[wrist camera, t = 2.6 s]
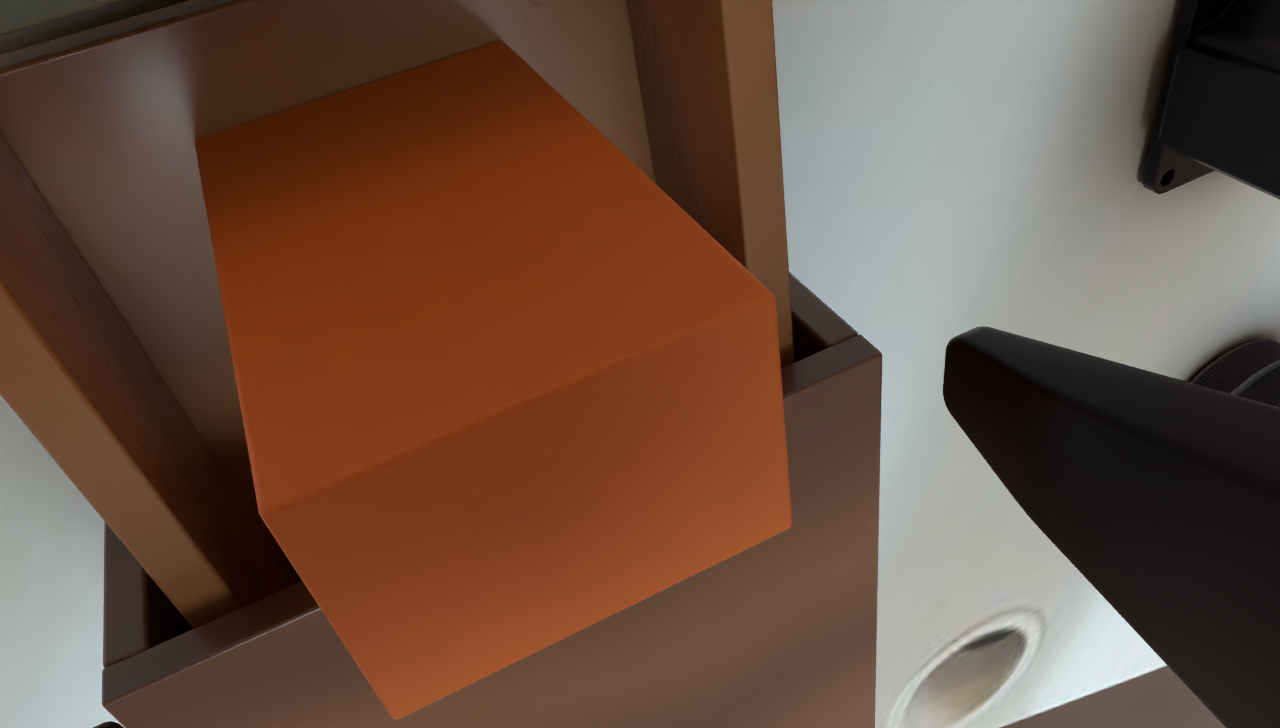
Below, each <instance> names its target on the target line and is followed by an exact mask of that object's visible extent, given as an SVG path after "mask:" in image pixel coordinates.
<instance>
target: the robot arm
mask: <svg viewBox="0 0 1280 728" xmlns="http://www.w3.org/2000/svg"><path fill="white" fill-rule="evenodd" d="M1215 170H1216V171H1218V172H1220V173H1222V174H1224V175H1227V176H1229V177H1231V178H1233V179H1236V180H1238V181H1240V182H1242V183H1245V184H1247V185H1249V186H1251V187H1253V188H1256V189H1258V190H1260V191H1262V192H1265V193H1267V194H1269V195H1271V196H1273V197H1276V198H1278V199H1280V0H1183V1H1182V5H1181V10H1180V14H1179V19H1178V23H1177V28H1176V32H1175V37H1174V41H1173V45H1172V50H1171V54H1170V59H1169V63H1168V68H1167V72H1166V77H1165V81H1164V86H1163V90H1162V95H1161V99H1160V104H1159V108H1158V113H1157V117H1156V121H1155V126H1154V130H1153V135H1152V139H1151V144H1150V148H1149V153H1148V157H1147V162H1146V166H1145V171H1144V175H1143V185H1144V187H1146V188H1148V189H1150V190H1152V191H1154V192H1156V193H1158V194H1161V193H1165V192H1167V191H1169V190H1171V189H1174V188H1176V187H1178V186H1180V185H1183V184H1185V183H1187V182H1190V181H1192V180H1194V179H1196V178H1199V177H1201V176H1203V175H1205V174H1208V173H1210V172H1212V171H1215ZM943 396H944V401H945V404H946V406H947V408H948V410H949V412H950V413H951V415H952V416H953V418H954V419H955V420H956V422H957V423H958V424H959V426H960V427H961V428H962V430H963V431H964V432H965V434H966V435H967V436H968V438H969V439H970V440H971V441H972V443H973V444H974V445H975V447H976V448H977V449H978V451H979V452H980V453H981V455H982V456H983V457H984V459H985V460H986V461H987V463H988V464H989V465H990V467H991V468H992V469H993V471H994V472H995V473H996V475H997V476H998V477H999V479H1000V480H1001V481H1002V483H1003V484H1004V485H1005V487H1006V488H1007V489H1008V491H1009V492H1010V493H1011V495H1012V496H1013V497H1014V499H1015V500H1016V501H1017V502H1018V504H1019V505H1020V506H1021V507H1022V508H1023V510H1024V511H1025V512H1026V513H1027V515H1028V516H1029V517H1030V518H1031V519H1032V520H1033V521H1034V523H1035V524H1036V525H1037V526H1038V527H1039V528H1040V529H1041V530H1042V532H1043V533H1044V534H1045V535H1046V536H1047V537H1048V538H1049V539H1050V540H1051V541H1052V542H1053V543H1054V544H1055V545H1056V546H1057V548H1058V549H1059V550H1060V551H1061V552H1062V553H1063V554H1064V555H1065V556H1066V557H1067V558H1068V559H1069V560H1070V561H1071V563H1072V564H1073V565H1074V566H1075V567H1076V568H1077V569H1078V570H1079V571H1080V572H1081V573H1082V574H1083V575H1084V576H1085V577H1086V579H1087V580H1088V581H1089V582H1090V583H1091V584H1092V585H1093V586H1094V587H1095V588H1096V589H1097V590H1098V591H1099V592H1100V594H1101V595H1102V596H1103V597H1104V598H1105V599H1106V600H1107V601H1108V602H1109V603H1110V604H1111V605H1112V606H1113V607H1114V608H1115V610H1116V611H1117V612H1118V613H1119V614H1120V615H1121V616H1122V617H1123V618H1124V619H1125V620H1126V621H1127V622H1128V623H1129V625H1130V626H1131V627H1132V628H1133V629H1134V630H1135V631H1136V632H1137V633H1138V634H1139V635H1140V636H1141V637H1142V638H1143V639H1144V641H1145V642H1146V643H1147V644H1148V645H1149V646H1150V647H1151V648H1152V649H1153V650H1154V651H1155V652H1156V653H1157V654H1158V656H1159V657H1160V658H1161V659H1162V660H1163V661H1164V662H1165V663H1166V664H1167V665H1168V666H1169V667H1170V668H1171V669H1172V670H1173V672H1174V673H1175V674H1176V675H1177V676H1178V677H1179V678H1180V679H1181V680H1182V681H1183V682H1184V683H1185V684H1186V685H1187V686H1188V687H1189V689H1190V690H1191V691H1192V692H1193V693H1194V694H1195V695H1196V696H1197V697H1198V698H1199V699H1200V700H1201V701H1202V703H1203V704H1204V705H1205V706H1206V707H1207V708H1208V709H1209V710H1210V711H1211V712H1212V713H1213V714H1214V715H1215V716H1216V717H1217V719H1218V720H1220V722H1221V723H1222V724H1223V725H1224V726H1225V727H1226V728H1280V408H1279V407H1276V406H1272V405H1268V404H1265V403H1261V402H1258V401H1254V400H1250V399H1247V398H1243V397H1239V396H1236V395H1232V394H1229V393H1225V392H1221V391H1218V390H1214V389H1211V388H1207V387H1203V386H1200V385H1196V384H1193V383H1189V382H1185V381H1182V380H1178V379H1175V378H1171V377H1167V376H1164V375H1160V374H1156V373H1153V372H1149V371H1146V370H1142V369H1138V368H1135V367H1131V366H1128V365H1124V364H1120V363H1117V362H1113V361H1110V360H1106V359H1102V358H1099V357H1095V356H1091V355H1088V354H1084V353H1081V352H1077V351H1073V350H1070V349H1066V348H1063V347H1059V346H1055V345H1052V344H1048V343H1045V342H1041V341H1037V340H1034V339H1030V338H1027V337H1023V336H1019V335H1016V334H1012V333H1008V332H1005V331H1001V330H998V329H994V328H990V327H976V328H974V329H971V330H969V331H967V332H965V333H963V334H960V335H958V336H956V337H954V338H952V339H951V340H950V341H949V343H948V345H947V348H946V356H945V370H944V383H943ZM93 728H124V727H122V726H121V725H120V724H118V723H115V722H111V721H109V722H105V723H102V724H100V725H98V726H95V727H93Z"/></svg>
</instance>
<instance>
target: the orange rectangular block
mask: <svg viewBox="0 0 1280 728" xmlns="http://www.w3.org/2000/svg"><path fill="white" fill-rule="evenodd" d="M195 149H196V154H197V160H198V166H199V172H200V177H201V183H202V189H203V195H204V200H205V206H206V212H207V218H208V223H209V229H210V235H211V241H212V246H213V252H214V258H215V263H216V269H217V275H218V281H219V286H220V292H221V298H222V304H223V309H224V315H225V321H226V327H227V332H228V338H229V344H230V350H231V355H232V361H233V367H234V373H235V378H236V384H237V390H238V396H239V401H240V407H241V413H242V419H243V424H244V430H245V436H246V442H247V447H248V453H249V459H250V465H251V470H252V476H253V482H254V488H255V493H256V499H257V505H258V511H259V515H260V516H261V518H262V519H263V521H264V523H265V524H266V526H267V527H268V529H269V530H270V532H271V533H272V535H273V536H274V538H275V539H276V541H277V543H278V544H279V546H280V547H281V549H282V550H283V552H284V553H285V555H286V556H287V558H288V559H289V561H290V562H291V564H292V566H293V567H294V569H295V570H296V572H297V573H298V575H299V576H300V578H301V579H302V581H303V582H304V584H305V586H306V587H307V589H308V590H309V592H310V593H311V595H312V596H313V598H314V599H315V601H316V602H317V604H318V606H319V607H320V609H321V610H322V612H323V613H324V615H325V616H326V618H327V619H328V621H329V622H330V624H331V625H332V627H333V629H334V630H335V632H336V633H337V635H338V636H339V638H340V639H341V641H342V642H343V644H344V645H345V647H346V649H347V650H348V652H349V653H350V655H351V656H352V658H353V659H354V661H355V662H356V664H357V665H358V667H359V669H360V670H361V672H362V673H363V675H364V676H365V678H366V679H367V681H368V682H369V684H370V685H371V687H372V689H373V690H374V692H375V693H376V695H377V696H378V698H379V699H380V701H381V702H382V704H383V705H384V707H385V708H386V710H387V712H388V713H389V715H390V716H391V717H392V718H393V719H395V720H396V719H401V718H403V717H405V716H407V715H409V714H411V713H413V712H415V711H417V710H419V709H421V708H423V707H425V706H427V705H429V704H431V703H433V702H436V701H438V700H440V699H442V698H444V697H446V696H448V695H450V694H452V693H454V692H456V691H458V690H460V689H462V688H464V687H466V686H468V685H470V684H472V683H474V682H476V681H478V680H481V679H483V678H485V677H487V676H489V675H491V674H493V673H495V672H497V671H499V670H501V669H503V668H505V667H507V666H509V665H511V664H513V663H515V662H517V661H519V660H521V659H523V658H525V657H528V656H530V655H532V654H534V653H536V652H538V651H540V650H542V649H544V648H546V647H548V646H550V645H552V644H554V643H556V642H558V641H560V640H562V639H564V638H566V637H568V636H570V635H573V634H575V633H577V632H579V631H581V630H583V629H585V628H587V627H589V626H591V625H593V624H595V623H597V622H599V621H601V620H603V619H605V618H607V617H609V616H611V615H613V614H615V613H617V612H620V611H622V610H624V609H626V608H628V607H630V606H632V605H634V604H636V603H638V602H640V601H642V600H644V599H646V598H648V597H650V596H652V595H654V594H656V593H658V592H660V591H662V590H665V589H667V588H669V587H671V586H673V585H675V584H677V583H679V582H681V581H683V580H685V579H687V578H689V577H691V576H693V575H695V574H697V573H699V572H701V571H703V570H705V569H707V568H710V567H712V566H714V565H716V564H718V563H720V562H722V561H724V560H726V559H728V558H730V557H732V556H734V555H736V554H738V553H740V552H742V551H744V550H746V549H748V548H750V547H752V546H754V545H757V544H759V543H761V542H763V541H765V540H767V539H769V538H771V537H773V536H775V535H777V534H779V533H781V532H783V531H785V530H787V529H789V528H790V527H791V526H792V511H791V497H790V484H789V470H788V457H787V443H786V430H785V417H784V403H783V390H782V376H781V363H780V349H779V336H778V323H777V309H776V300H775V297H774V295H773V293H772V292H771V291H770V290H768V289H767V288H766V287H765V286H764V285H763V284H762V283H761V282H760V281H759V280H758V279H757V278H756V277H755V276H754V275H752V274H751V273H750V272H749V271H748V270H747V269H746V268H745V267H744V266H743V265H742V264H741V263H740V262H739V261H737V260H736V259H735V258H734V257H733V256H732V255H731V254H730V253H729V252H728V251H727V250H726V249H725V248H724V247H723V246H721V245H720V244H719V243H718V242H717V241H716V240H715V239H714V238H713V237H712V236H711V235H710V234H709V233H708V232H707V231H705V230H704V229H703V228H702V227H701V226H700V225H699V224H698V223H697V222H696V221H695V220H694V219H693V218H692V217H691V216H689V215H688V214H687V213H686V212H685V211H684V210H683V209H682V208H681V207H680V206H679V205H678V204H677V203H676V202H675V201H673V200H672V199H671V198H670V197H669V196H668V195H667V194H666V193H665V192H664V191H663V190H662V189H661V188H660V187H659V186H657V185H656V184H655V183H654V182H653V181H652V180H651V179H650V178H649V177H648V176H647V175H646V174H645V173H644V172H643V171H641V170H640V169H639V168H638V167H637V166H636V165H635V164H634V163H633V162H632V161H631V160H630V159H629V158H628V157H627V156H625V155H624V154H623V153H622V152H621V151H620V150H619V149H618V148H617V147H616V146H615V145H614V144H613V143H612V142H611V141H609V140H608V139H607V138H606V137H605V136H604V135H603V134H602V133H601V132H600V131H599V130H598V129H597V128H596V127H594V126H593V125H592V124H591V123H590V122H589V121H588V120H587V119H586V118H585V117H584V116H583V115H582V114H581V113H580V112H578V111H577V110H576V109H575V108H574V107H573V106H572V105H571V104H570V103H569V102H568V101H567V100H566V99H565V98H564V97H562V96H561V95H560V94H559V93H558V92H557V91H556V90H555V89H554V88H553V87H552V86H551V85H550V84H549V83H548V82H546V81H545V80H544V79H543V78H542V77H541V76H540V75H539V74H538V73H537V72H536V71H535V70H534V69H533V68H532V67H530V66H529V65H528V64H527V63H526V62H525V61H524V60H523V59H522V58H521V57H520V56H519V55H518V54H517V53H516V52H514V51H513V50H512V49H511V48H510V47H509V46H508V45H507V44H506V43H505V42H504V41H498V42H495V43H492V44H489V45H486V46H483V47H480V48H477V49H474V50H470V51H467V52H464V53H461V54H458V55H455V56H452V57H449V58H446V59H443V60H440V61H436V62H433V63H430V64H427V65H424V66H421V67H418V68H415V69H412V70H409V71H405V72H402V73H399V74H396V75H393V76H390V77H387V78H384V79H381V80H378V81H374V82H371V83H368V84H365V85H362V86H359V87H356V88H353V89H350V90H347V91H344V92H340V93H337V94H334V95H331V96H328V97H325V98H322V99H319V100H316V101H313V102H309V103H306V104H303V105H300V106H297V107H294V108H291V109H288V110H285V111H282V112H278V113H275V114H272V115H269V116H266V117H263V118H260V119H257V120H254V121H251V122H248V123H244V124H241V125H238V126H235V127H232V128H229V129H226V130H223V131H220V132H217V133H213V134H210V135H207V136H204V137H201V138H198V139H197V140H196V141H195Z"/></svg>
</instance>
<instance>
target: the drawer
mask: <svg viewBox="0 0 1280 728" xmlns="http://www.w3.org/2000/svg"><path fill="white" fill-rule="evenodd" d="M121 1H125V0H0V36H2V35H5V34H9V33H12V32H16V31H19V30H23V29H26V28H30V27H33V26H37V25H40V24H44V23H47V22H51V21H54V20H58V19H61V18H65V17H69V16H72V15H76V14H79V13H83V12H86V11H90V10H93V9H97V8H100V7H104V6H107V5H111V4H114V3H118V2H121ZM498 41H504V42H505V43H506V44H507V45H508V46H509V47H510V48H511V49H512V50H513V51H514V52H516V53H517V54H518V55H519V56H520V57H521V58H522V59H523V60H524V61H525V62H526V63H527V64H528V65H529V66H530V67H532V68H533V69H534V70H535V71H536V72H537V73H538V74H539V75H540V76H541V77H542V78H543V79H544V80H545V81H546V82H548V83H549V84H550V85H551V86H552V87H553V88H554V89H555V90H556V91H557V92H558V93H559V94H560V95H561V96H562V97H564V98H565V99H566V100H567V101H568V102H569V103H570V104H571V105H572V106H573V107H574V108H575V109H576V110H577V111H578V112H580V113H581V114H582V115H583V116H584V117H585V118H586V119H587V120H588V121H589V122H590V123H591V124H592V125H593V126H594V127H596V128H597V129H598V130H599V131H600V132H601V133H602V134H603V135H604V136H605V137H606V138H607V139H608V140H609V141H611V142H612V143H613V144H614V145H615V146H616V147H617V148H618V149H619V150H620V151H621V152H622V153H623V154H624V155H625V156H627V157H628V158H629V159H630V160H631V161H632V162H633V163H634V164H635V165H636V166H637V167H638V168H639V169H640V170H641V171H643V172H644V173H645V174H646V175H647V176H648V177H649V178H650V179H651V180H652V181H653V182H654V183H655V184H656V185H657V186H659V187H660V188H661V189H662V190H663V191H664V192H665V193H666V194H667V195H668V196H669V197H670V198H671V199H672V200H673V201H675V202H676V203H677V204H678V205H679V206H680V207H681V208H682V209H683V210H684V211H685V212H686V213H687V214H688V215H689V216H691V217H692V218H693V219H694V220H695V221H696V222H697V223H698V224H699V225H700V226H701V227H702V228H703V229H704V230H705V231H707V232H708V233H709V234H710V235H711V236H712V237H713V238H714V239H715V240H716V241H717V242H718V243H719V244H720V245H721V246H723V247H724V248H725V249H726V250H727V251H728V252H729V253H730V254H731V255H732V256H733V257H734V258H735V259H736V260H737V261H739V262H740V263H741V264H742V265H743V266H744V267H745V268H746V269H747V270H748V271H749V272H750V273H751V274H752V275H754V276H755V277H756V278H757V279H758V280H759V281H760V282H761V283H762V284H763V285H764V286H765V287H766V288H767V289H768V290H770V291H771V292H772V293H773V295H774V297H775V300H776V309H777V323H778V336H779V349H780V363H781V369H782V368H784V367H786V366H789V365H791V364H793V363H794V350H793V333H792V317H791V301H790V285H789V269H788V252H787V236H786V220H785V204H784V188H783V171H782V155H781V139H780V123H779V106H778V90H777V74H776V58H775V42H774V25H773V9H772V0H189V1H186V2H182V3H179V4H175V5H172V6H169V7H165V8H162V9H158V10H155V11H151V12H148V13H144V14H141V15H137V16H134V17H130V18H127V19H123V20H120V21H117V22H113V23H110V24H106V25H103V26H99V27H96V28H92V29H89V30H85V31H82V32H78V33H75V34H71V35H68V36H65V37H61V38H58V39H54V40H51V41H47V42H44V43H40V44H37V45H33V46H30V47H26V48H23V49H19V50H16V51H13V52H9V53H6V54H2V55H0V395H1V396H2V397H3V398H4V399H5V401H6V402H7V403H8V404H9V405H10V407H11V408H12V409H13V410H14V412H15V413H16V414H17V415H18V416H19V418H20V419H21V420H22V421H23V422H24V424H25V425H26V426H27V427H28V429H29V430H30V431H31V432H32V433H33V435H34V436H35V437H36V438H37V439H38V441H39V442H40V443H41V444H42V446H43V447H44V448H45V449H46V450H47V452H48V453H49V454H50V455H51V456H52V458H53V459H54V460H55V461H56V463H57V464H58V465H59V466H60V467H61V469H62V470H63V471H64V472H65V473H66V475H67V476H68V477H69V478H70V479H71V481H72V482H73V483H74V484H75V486H76V487H77V488H78V489H79V490H80V492H81V493H82V494H83V495H84V496H85V498H86V499H87V500H88V501H89V503H90V504H91V505H92V506H93V507H94V509H95V510H96V511H97V512H98V513H99V515H100V516H101V517H102V518H103V520H104V521H105V522H106V523H107V524H108V526H109V527H110V528H111V529H112V530H113V532H114V533H115V534H116V535H117V537H118V538H119V539H120V540H121V541H122V543H123V544H124V545H125V546H126V547H127V549H128V550H129V551H130V552H131V554H132V555H133V556H134V557H135V558H136V560H137V561H138V562H139V563H140V564H141V566H142V567H143V568H144V569H145V571H146V572H147V573H148V574H149V575H150V577H151V578H152V579H153V580H154V581H155V583H156V584H157V585H158V586H159V588H160V589H161V590H162V591H163V592H164V594H165V595H166V596H167V597H168V598H169V600H170V601H171V602H172V603H173V605H174V606H175V607H176V608H177V609H178V611H179V612H180V613H181V614H182V615H183V617H184V618H185V619H186V620H187V622H188V623H189V624H190V625H191V626H192V628H193V629H194V628H196V627H199V626H201V625H203V624H205V623H208V622H210V621H212V620H214V619H217V618H219V617H221V616H223V615H226V614H228V613H230V612H233V611H235V610H237V609H239V608H242V607H244V606H246V605H248V604H251V603H253V602H255V601H257V600H260V599H262V598H264V597H266V596H269V595H271V594H273V593H275V592H278V591H280V590H282V589H285V588H287V587H289V586H291V585H294V584H296V583H298V582H300V581H302V579H301V578H300V576H299V575H298V573H297V572H296V570H295V569H294V567H293V566H292V564H291V562H290V561H289V559H288V558H287V556H286V555H285V553H284V552H283V550H282V549H281V547H280V546H279V544H278V543H277V541H276V539H275V538H274V536H273V535H272V533H271V532H270V530H269V529H268V527H267V526H266V524H265V523H264V521H263V519H262V518H261V516H260V515H259V511H258V505H257V499H256V493H255V488H254V482H253V476H252V470H251V465H250V459H249V453H248V447H247V442H246V436H245V430H244V424H243V419H242V413H241V407H240V401H239V396H238V390H237V384H236V378H235V373H234V367H233V361H232V355H231V350H230V344H229V338H228V332H227V327H226V321H225V315H224V309H223V304H222V298H221V292H220V286H219V281H218V275H217V269H216V263H215V258H214V252H213V246H212V241H211V235H210V229H209V223H208V218H207V212H206V206H205V200H204V195H203V189H202V183H201V177H200V172H199V166H198V160H197V154H196V149H195V141H196V140H197V139H198V138H201V137H204V136H207V135H210V134H213V133H217V132H220V131H223V130H226V129H229V128H232V127H235V126H238V125H241V124H244V123H248V122H251V121H254V120H257V119H260V118H263V117H266V116H269V115H272V114H275V113H278V112H282V111H285V110H288V109H291V108H294V107H297V106H300V105H303V104H306V103H309V102H313V101H316V100H319V99H322V98H325V97H328V96H331V95H334V94H337V93H340V92H344V91H347V90H350V89H353V88H356V87H359V86H362V85H365V84H368V83H371V82H374V81H378V80H381V79H384V78H387V77H390V76H393V75H396V74H399V73H402V72H405V71H409V70H412V69H415V68H418V67H421V66H424V65H427V64H430V63H433V62H436V61H440V60H443V59H446V58H449V57H452V56H455V55H458V54H461V53H464V52H467V51H470V50H474V49H477V48H480V47H483V46H486V45H489V44H492V43H495V42H498Z"/></svg>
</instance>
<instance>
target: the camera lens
mask: <svg viewBox="0 0 1280 728" xmlns="http://www.w3.org/2000/svg"><path fill="white" fill-rule="evenodd" d="M1190 383H1193V384H1196V385H1200V386H1203V387H1207V388H1211V389H1214V390H1218V391H1221V392H1225V393H1229V394H1232V395H1236V396H1239V397H1243V398H1247V399H1250V400H1254V401H1258V402H1261V403H1265V404H1268V405H1272V406H1276V407H1279V408H1280V343H1278V342H1276V341H1273V340H1269V339H1263V340H1254V341H1251V342H1248V343H1246V344H1243V345H1240V346H1238V347H1236V348H1234V349H1232V350H1230V351H1229V352H1227V353H1225V354H1224V355H1222V356H1221V357H1220V358H1218V359H1217V360H1215V361H1214V362H1213V363H1211V364H1210V365H1208V366H1207V367H1206V368H1205V369H1204V370H1203V371H1201V372H1200V373H1199V374H1198V375H1197V376H1196V377H1195V378H1194V379H1193V380H1192V381H1191V382H1190Z"/></svg>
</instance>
